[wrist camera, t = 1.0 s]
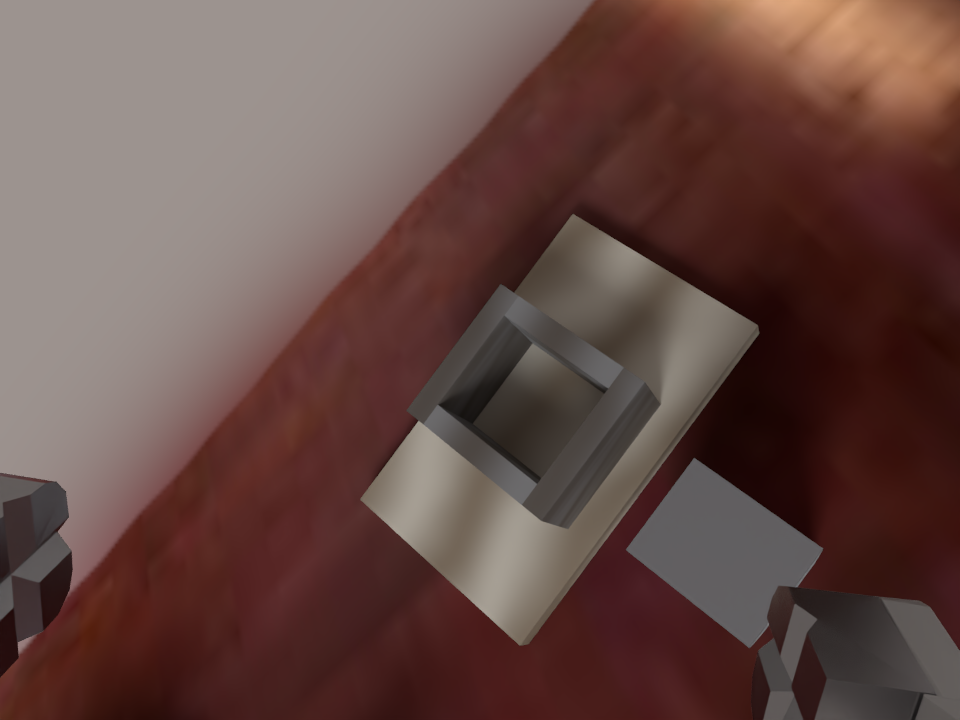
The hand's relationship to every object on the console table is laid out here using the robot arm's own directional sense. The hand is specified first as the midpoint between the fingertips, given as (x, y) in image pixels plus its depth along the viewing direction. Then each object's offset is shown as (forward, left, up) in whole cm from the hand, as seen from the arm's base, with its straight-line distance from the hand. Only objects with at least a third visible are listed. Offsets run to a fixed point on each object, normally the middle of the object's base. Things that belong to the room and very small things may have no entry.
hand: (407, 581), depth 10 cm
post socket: (+8, -9, -35) cm, 37 cm away
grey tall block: (-2, -1, -35) cm, 35 cm away
